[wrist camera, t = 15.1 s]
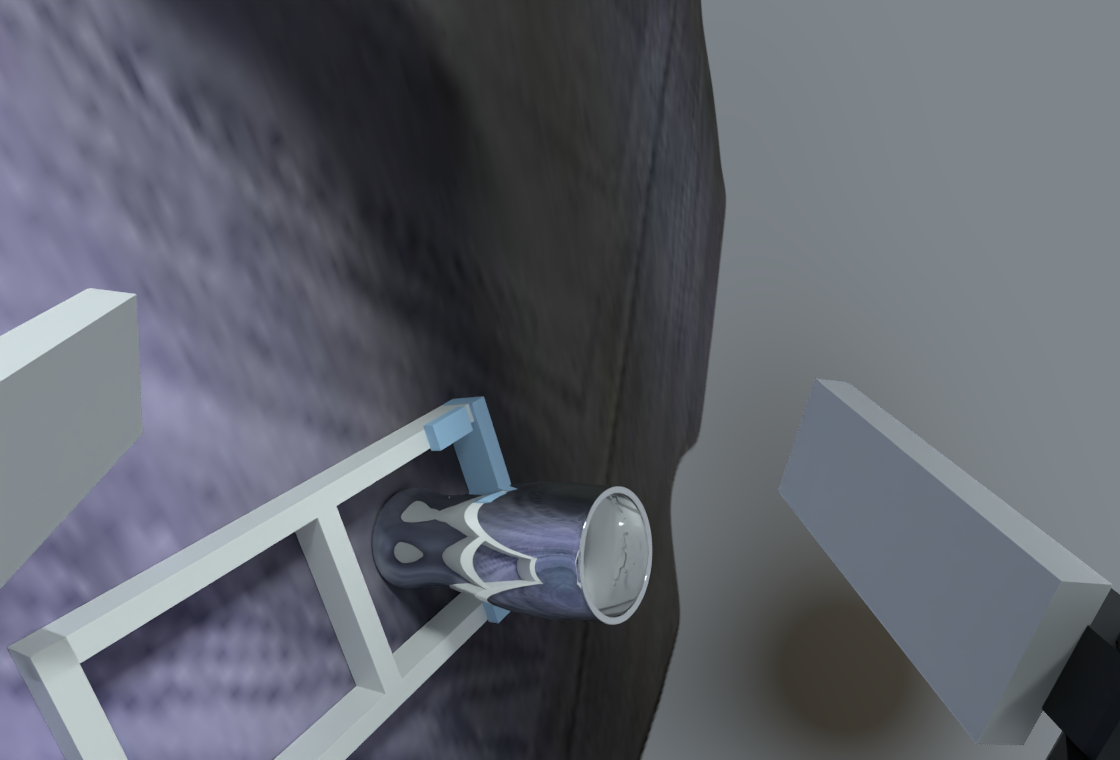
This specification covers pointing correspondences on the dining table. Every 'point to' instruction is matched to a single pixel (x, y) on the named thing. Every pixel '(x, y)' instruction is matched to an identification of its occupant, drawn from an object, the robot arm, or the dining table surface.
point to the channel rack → (303, 510)
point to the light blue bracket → (472, 454)
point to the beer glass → (522, 547)
